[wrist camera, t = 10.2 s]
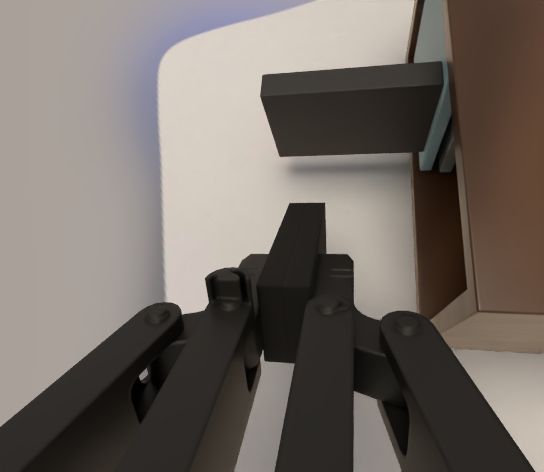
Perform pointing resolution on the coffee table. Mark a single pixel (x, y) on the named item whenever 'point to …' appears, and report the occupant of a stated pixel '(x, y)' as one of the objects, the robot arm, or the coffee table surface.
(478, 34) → the cabinet
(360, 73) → the door
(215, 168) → the coffee table surface
